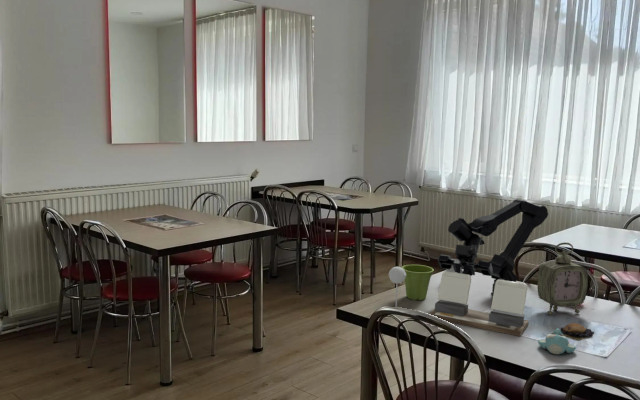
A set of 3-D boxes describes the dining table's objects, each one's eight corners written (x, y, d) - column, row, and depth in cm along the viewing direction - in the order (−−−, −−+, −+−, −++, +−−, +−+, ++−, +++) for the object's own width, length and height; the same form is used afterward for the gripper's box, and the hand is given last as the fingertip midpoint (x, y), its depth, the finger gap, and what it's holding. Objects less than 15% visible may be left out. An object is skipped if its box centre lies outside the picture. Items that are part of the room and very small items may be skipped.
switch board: (440, 308, 206) (441, 296, 206) (528, 324, 191) (529, 312, 190) (428, 317, 196) (429, 305, 195) (520, 336, 181) (520, 323, 180)
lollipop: (406, 306, 207) (408, 266, 205) (402, 311, 202) (403, 269, 199) (390, 304, 209) (391, 263, 207) (385, 309, 204) (386, 267, 202)
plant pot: (429, 304, 210) (430, 274, 209) (397, 300, 214) (398, 270, 213) (434, 294, 221) (436, 266, 220) (404, 291, 225) (405, 263, 224)
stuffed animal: (578, 328, 174) (577, 333, 163) (576, 352, 173) (575, 359, 163) (540, 322, 178) (536, 327, 168) (538, 345, 178) (534, 352, 167)
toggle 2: (492, 309, 192) (497, 279, 194) (523, 315, 186) (528, 284, 189) (490, 308, 190) (495, 278, 192) (522, 314, 185) (527, 283, 187)
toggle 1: (438, 299, 201) (444, 271, 203) (467, 305, 196) (472, 275, 198) (436, 298, 199) (442, 270, 202) (465, 304, 194) (470, 274, 196)
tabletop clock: (547, 317, 198) (553, 245, 195) (532, 308, 207) (537, 240, 203) (585, 315, 201) (591, 244, 198) (568, 306, 210) (574, 239, 206)
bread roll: (578, 343, 178) (579, 331, 177) (554, 334, 185) (555, 323, 184) (598, 336, 183) (599, 325, 183) (574, 327, 190) (575, 317, 190)
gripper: (440, 232, 210) (428, 268, 202) (492, 239, 200) (481, 277, 192) (446, 249, 217) (435, 285, 210) (497, 256, 208) (486, 294, 200)
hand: (458, 285), depth 203 cm, fingers closed
